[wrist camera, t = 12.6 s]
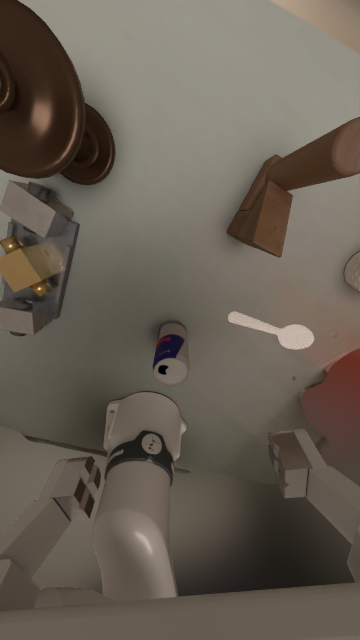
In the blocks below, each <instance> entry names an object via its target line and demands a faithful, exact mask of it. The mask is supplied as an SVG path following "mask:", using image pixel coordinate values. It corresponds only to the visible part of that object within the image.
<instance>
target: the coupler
mask: <svg viewBox="0 0 360 640" xmlns="http://www.w3.org/2000/svg"><path fill="white" fill-rule="evenodd" d="M0 244H1V246H2V247H3V249H4V250H5V252H6V253H7V255H5V256H3V257H1V258H0V274H1V275H2V276H3V278H4V279H5V280H6V282H7V283H8V285H9V286H10V287H11V289H12V290H13V291H14V292H17V291H19V290H21V289H24V288H26V287H28V286H30V287H31V289H32V290H33V292H34V293H35V295H36V296H37V297H40V296H42V295H45V294H47V293H49V292H51V291H52V289H51V287H50V286H49V284H48V283H47V281H46V280H45V279H46V278H48V277H51V276H53V275H55V274H57V273H58V272H57V271H56V269H55V268H54V266H53V264H52V263H51V261H50V260H49V258H48V256H47V255H46V253H45V252H44V250H43V248H42V247H41V245H40V244H39V245H34V246H30V247H25V248H24V246H23V245H22V243H21V242H20V240H19V239H18V237H17V236H12V237H8V238H5V239H3V240H1V241H0Z"/></svg>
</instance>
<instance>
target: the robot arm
mask: <svg viewBox="0 0 360 640" xmlns="http://www.w3.org/2000/svg"><path fill="white" fill-rule="evenodd" d="M186 426H187V425H186V423H185V422H184V421H183V419H182V418H181V417H180V413H179V410H178V408H177V406H176V405H175V403H174V402H173V401H171V400H170V399H169V398H167V397H165V396H163V395H161V394H157V393H152V392H140V393H135V394H132V395H130V396H128V397H126V398H124V399H122V400H115V401H111V402H109V403H108V407H107V415H106V425H105V435H104V444H103V447H104V449H105V450H107V451H108V455H107V465H106V469H105V484H104V488H103V491H102V495H101V499H100V502H99V506H98V510H97V514H96V517H95V521H94V524H93V530H92V543H93V549H94V552H95V555H96V558H97V560H98V563H99V566H100V570H101V576H102V585H103V595H101V594H99V593H97V592H95V591H93V590H91V589H86V588H71V587H47V588H44V589H41V590H40V587H39V585H38V584H37V583H36V582H35V581H34V580H32V579H31V578H32V576H33V575H34V574H35V573H36V571H37V570H38V568H39V567H40V565H41V564H42V563H43V561H44V560H45V559H46V557H47V556H48V554H49V553H50V551H51V550H52V549H53V547H54V546H55V545H56V543H57V542H58V540H59V539H60V537H61V536H62V535H63V533H64V532H65V530H66V529H67V528H68V526H69V525H70V522H72V521H79V520H86V519H90V515H91V512H92V509H93V505H94V502H95V500H94V497H93V495H94V494H95V493H96V492H97V490H98V488H99V485H100V477H101V475H100V470H99V468H98V467H97V466H96V465H94V462H95V460H94V459H93V457H92V456H91V457H82V458H73V459H64V460H59V461H58V462H57V463H56V465H55V467H54V469H53V471H52V473H51V475H50V477H49V479H48V481H47V483H46V485H45V487H44V489H43V491H42V493H41V495H40V497H39V499H38V500H35V501H34V502H33V503H32V504H31V505H30V506H29V507H28V508H27V509H26V510H25V511H24V512H23V513H22V514H21V515H20V516H19V517H18V518H17V519H16V520H15V521H14V522H13V523H12V524H11V525H10V526H9V527H8V528H7V529H6V530H5V531H4V532H3V533H2V534H1V535H0V640H360V487H359V486H357V485H356V484H355V483H353V482H352V481H350V480H349V479H348V478H346V477H345V476H343V475H342V474H341V473H340V472H338V471H337V470H335V469H334V468H333V467H331V466H328V467H327V465H326V464H325V462H324V460H323V459H322V457H321V455H320V454H319V452H318V450H317V449H316V447H315V445H314V444H313V442H312V440H311V439H310V437H309V435H308V434H307V432H306V431H305V430H304V429H299V430H292V431H291V430H289V431H282V432H275V433H269V434H268V440H269V442H270V444H269V445H268V449H269V455H270V459H271V463H272V465H273V468H274V470H275V471H276V472H278V482H279V484H280V487H281V489H282V492H283V495H284V497H285V498H292V497H305V496H307V499H308V500H309V501H310V502H311V503H312V504H313V505H314V506H315V507H316V508H317V509H318V510H319V511H320V512H321V513H322V514H323V515H324V516H325V517H326V518H327V519H328V520H329V521H330V522H331V523H332V524H333V525H334V526H335V527H336V528H337V529H338V530H339V531H340V532H341V533H342V534H343V535H344V536H345V538H346V539H347V540H348V541H349V542H350V543H351V544H352V548H351V551H350V554H349V558H348V562H347V565H348V567H349V569H350V571H351V573H352V575H353V577H354V579H355V581H356V583H347V584H334V585H321V586H310V587H296V588H284V589H271V590H258V591H246V592H234V593H221V594H209V595H196V596H183V597H178V594H177V588H176V582H175V576H174V570H173V564H172V556H171V547H170V530H169V526H170V523H169V522H170V487H171V485H172V482H173V474H174V467H173V462H174V461H175V460H176V459H177V458H178V457H179V455H180V442H181V435H182V434H183V433H184V432H185V431H186Z"/></svg>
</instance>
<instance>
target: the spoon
mask: <svg viewBox="0 0 360 640" xmlns="http://www.w3.org/2000/svg"><path fill="white" fill-rule="evenodd" d="M228 320H229V321H230V322H231V323H235V324H239V325H242V326H246V327H250V328H253V329H257V330H262V331H265V332H269V333H272V334H276V335H277V336H278V340H279V342H280V344H281V345H282V346H284V347H286V348H288V349H303V348H305V347H306V348H307V347H309V346H310V345H311V344H312V343H313V341H314V336H313V334H312V332H311V331H310V330H309V329H308V328H307V327H305V326H303V325H300V324H291V325H288V326H286V327H284V328H278V327H275V326H272V325H270V324H267V323H265V322H262V321H260V320H257V319H254V318H252V317H249V316H247V315H244V314H242V313H240V312H236V311H232V312H231V313H230V314H229V315H228Z"/></svg>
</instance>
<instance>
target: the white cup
mask: <svg viewBox="0 0 360 640" xmlns="http://www.w3.org/2000/svg"><path fill="white" fill-rule="evenodd" d="M344 277H345V281H346V282H347V283H348V284H349V285H350V286H351V287H353V288H355V289H357V290H359V291H360V252H358V253H357V254H355V255H354V256H352V258H351V259H350V260H349V262H348V263H347V264H346V268H345V271H344Z"/></svg>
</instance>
